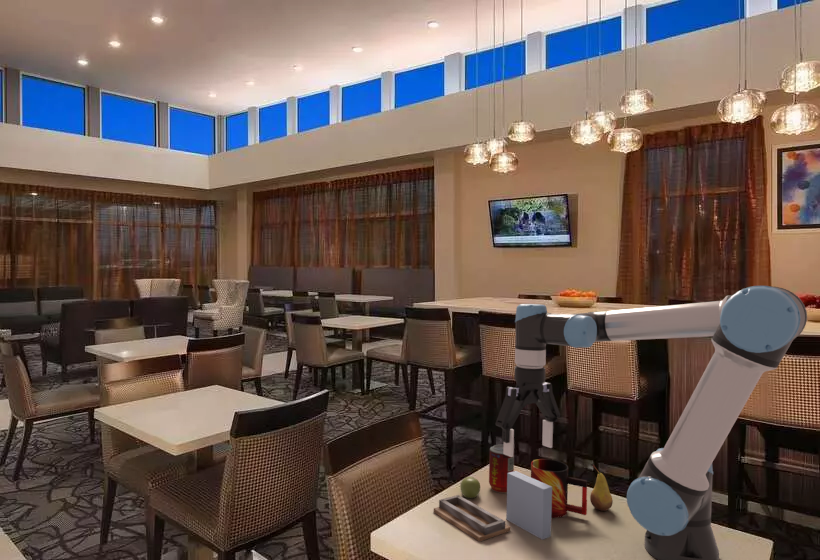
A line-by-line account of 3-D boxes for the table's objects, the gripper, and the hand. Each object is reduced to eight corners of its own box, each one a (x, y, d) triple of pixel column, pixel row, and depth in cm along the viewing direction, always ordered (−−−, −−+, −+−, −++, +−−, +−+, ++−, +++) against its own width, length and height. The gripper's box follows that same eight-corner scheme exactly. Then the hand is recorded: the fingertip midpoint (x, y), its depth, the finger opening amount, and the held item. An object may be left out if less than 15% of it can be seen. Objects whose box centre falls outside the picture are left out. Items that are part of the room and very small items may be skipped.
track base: (510, 530, 130) (510, 519, 130) (479, 541, 124) (479, 529, 124) (463, 503, 145) (463, 493, 145) (433, 512, 139) (433, 501, 139)
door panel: (550, 536, 128) (552, 486, 128) (542, 539, 126) (543, 489, 126) (514, 517, 138) (515, 470, 138) (506, 519, 136) (507, 473, 136)
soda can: (516, 487, 157) (517, 446, 157) (508, 496, 151) (509, 452, 151) (493, 482, 160) (494, 441, 160) (485, 490, 154) (486, 448, 154)
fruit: (605, 516, 140) (606, 470, 139) (585, 508, 144) (587, 463, 144) (616, 510, 143) (618, 466, 143) (597, 503, 148) (598, 459, 147)
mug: (587, 520, 137) (588, 473, 137) (532, 517, 138) (534, 470, 138) (578, 504, 147) (579, 460, 147) (527, 501, 148) (528, 458, 148)
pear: (460, 479, 148) (461, 472, 157) (459, 499, 147) (460, 491, 157) (480, 480, 147) (480, 473, 157) (480, 500, 146) (479, 492, 156)
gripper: (552, 360, 143) (551, 439, 143) (481, 367, 129) (480, 454, 129) (575, 364, 137) (573, 446, 137) (503, 372, 123) (501, 464, 123)
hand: (528, 450), depth 133 cm, fingers open, 13 cm apart
